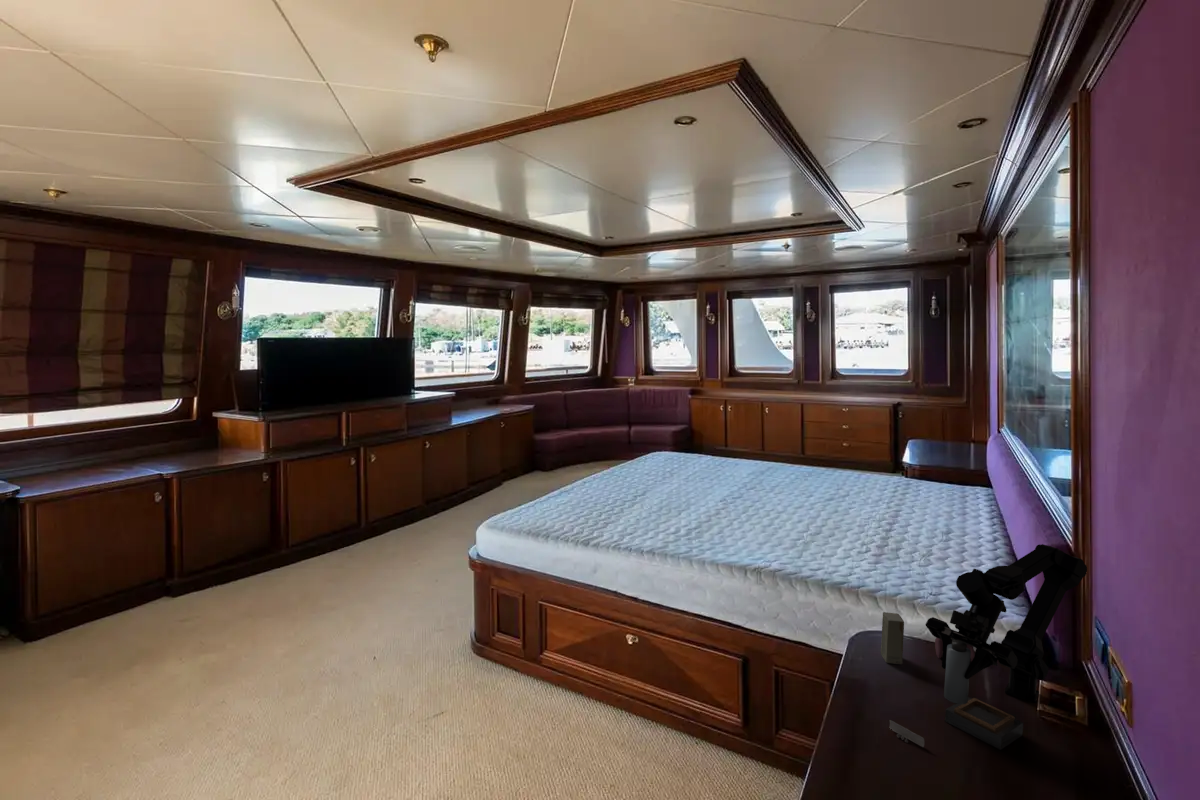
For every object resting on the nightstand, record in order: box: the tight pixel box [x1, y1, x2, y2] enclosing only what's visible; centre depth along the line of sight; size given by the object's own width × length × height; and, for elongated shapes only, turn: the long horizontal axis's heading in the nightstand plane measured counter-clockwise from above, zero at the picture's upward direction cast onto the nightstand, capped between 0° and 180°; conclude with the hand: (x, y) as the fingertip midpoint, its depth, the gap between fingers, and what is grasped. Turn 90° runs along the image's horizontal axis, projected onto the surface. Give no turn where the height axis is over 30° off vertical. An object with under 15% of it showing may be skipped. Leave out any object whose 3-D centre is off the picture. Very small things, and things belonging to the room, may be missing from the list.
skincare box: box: [880, 611, 905, 665], centre depth 172 cm, size 6×4×12 cm
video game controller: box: [934, 637, 976, 663], centre depth 175 cm, size 10×5×7 cm, turn 72°
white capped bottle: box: [943, 640, 971, 704], centre depth 143 cm, size 5×5×14 cm
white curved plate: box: [888, 719, 925, 748], centre depth 137 cm, size 4×8×3 cm, turn 34°
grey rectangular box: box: [944, 696, 1024, 751], centre depth 141 cm, size 10×12×4 cm
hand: (954, 673), depth 142 cm, fingers closed on white capped bottle, 5 cm apart
